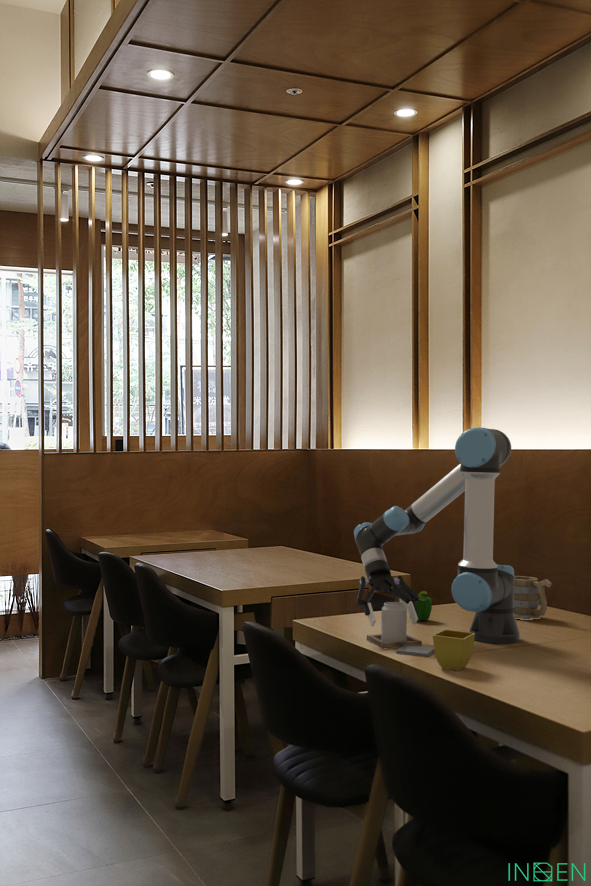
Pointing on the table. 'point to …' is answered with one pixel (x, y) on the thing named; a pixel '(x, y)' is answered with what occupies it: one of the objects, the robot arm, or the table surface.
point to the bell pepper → (423, 607)
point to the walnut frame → (377, 641)
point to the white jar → (393, 622)
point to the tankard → (529, 597)
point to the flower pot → (453, 648)
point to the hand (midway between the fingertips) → (394, 622)
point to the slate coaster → (415, 650)
